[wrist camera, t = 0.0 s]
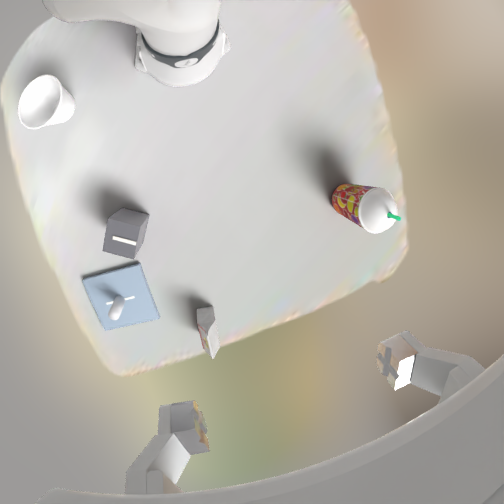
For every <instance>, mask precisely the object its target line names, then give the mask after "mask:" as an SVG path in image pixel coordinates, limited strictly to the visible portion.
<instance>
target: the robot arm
mask: <svg viewBox="0 0 504 504" xmlns="http://www.w3.org/2000/svg"><path fill="white" fill-rule="evenodd" d="M42 2H43V4H44V6H45V7H46V9H47V10H48V11H49V12H50V13H51V14H52V15H53V16H55V17H56V18H58V19H60V20H62V21H64V22H67V23H76V22H82V21H92V20H108V21H116V22H122V23H126V24H130V25H133V26H136V27H135V28H136V33H137V34H138V35H137V45H136V57H135V67H136V69H137V70H138V71H140V72H144V73H148V74H150V75H151V76H153V77H154V78H155V79H156V80H158V81H159V82H161V83H163V84H165V85H169V86H174V87H184V86H190V85H193V84H196V83H198V82H200V81H202V80H204V79H205V78H207V77H208V76H209V75H210V74H211V73H212V72H213V71H214V69H215V68H216V66H217V64H218V62H219V60H220V59H221V57H222V56H224V55H225V54H226V53H227V52H228V51H229V50H230V49H231V43H230V41H229V39H228V37H227V35H226V33H225V31H224V29H223V27H222V25H221V23H220V21H219V19H218V17H219V13H220V7H221V1H220V0H42ZM140 59H141V61H140ZM377 350H378V351H379V354H378V356H377V360H376V362H377V366H378V369H379V371H380V372H381V374H382V375H384V376H388V380H387V381H388V382H389V384H390V385H391V386H392V387H393V388H394V390H396V389H398V388H400V387H402V386H404V385H406V384H408V383H410V384H413V385H415V386H417V387H420V388H422V389H425V390H427V391H429V392H432V393H434V394H437V395H439V396H441V398H440V401H439V403H438V405H437V406H435V407H434V408H432V409H430V410H429V411H427V412H425V413H424V414H422V415H421V416H419V417H417V418H415V419H414V420H412V421H410V422H408V423H407V424H405V425H403V426H401V427H399V428H397V429H396V430H394V431H392V432H390V433H388V434H386V435H384V436H382V437H380V438H378V439H376V440H374V441H372V442H369V443H367V444H365V445H363V446H360V447H359V448H356V449H354V450H351V451H349V452H346V453H344V454H342V455H339V456H337V457H334V458H331V459H329V460H326V461H324V462H320V463H318V464H315V465H312V466H309V467H306V468H303V469H299V470H296V471H293V472H290V473H286V474H283V475H279V476H275V477H271V478H267V479H263V480H259V481H255V482H250V483H246V484H240V485H236V486H230V487H224V488H217V489H211V490H203V491H195V492H185V493H184V492H183V491H182V490H181V489H180V488H179V487H178V486H176V483H177V481H178V479H179V477H180V475H181V474H182V472H183V470H184V468H185V466H186V464H187V462H188V460H189V458H190V455H193V454H199V453H204V452H209V442H208V438H207V437H206V435H205V434H206V432H207V426H206V422H205V418H204V416H203V414H202V412H201V411H199V410H198V404H197V403H196V401H195V400H193V401H187V402H180V403H174V404H168V405H161V406H160V408H159V423H158V435H155V436H154V437H153V438H152V440H151V441H150V442H149V443H148V445H147V446H146V447H145V448H144V450H143V451H142V452H141V454H140V455H139V456H138V457H137V459H136V460H135V461H134V462H133V464H132V465H131V466H130V467H129V469H128V470H127V472H126V485H125V494H104V493H93V492H83V491H75V490H68V489H62V488H53V489H51V490H50V491H48V492H47V493H46V494H45V495H43V496H42V497H41V498H40V499H39V500H38V501H37V502H36V503H35V504H504V354H503V355H502V357H500V358H499V359H498V360H497V361H496V362H494V363H493V364H492V365H491V366H490V367H488V368H487V369H485V368H483V367H482V366H481V365H480V364H479V363H478V362H477V361H475V360H474V359H473V358H472V357H471V356H467V355H462V354H458V353H453V352H449V351H444V350H440V349H436V348H432V347H429V348H426V347H425V346H424V345H423V344H422V343H421V342H420V341H419V340H418V339H417V338H416V337H414V336H413V335H412V334H411V333H410V332H409V331H407V330H405V331H403V332H401V333H399V334H397V335H395V336H392V337H390V338H388V339H386V340H384V341H382V342H379V344H378V348H377Z"/></svg>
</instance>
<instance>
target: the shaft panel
mask: <svg viewBox="0 0 504 504" xmlns="http://www.w3.org/2000/svg"><path fill="white" fill-rule="evenodd" d="M82 281H83V284H84V286H85V288H86V291H87V293H88V295H89V298H90V300H91V302H92V304H93V307H94V309H95V311H96V313H97V315H98V317H99V319H100V321H101V323H102V325H103V327H104V329H105V331H106V330H111V329H115V328H120V327H125V326H129V325H134V324H138V323H143V322H147V321H152V320H156V319H160V315H159V312H158V310H157V307H156V305H155V302H154V300H153V297H152V294H151V292H150V289H149V286H148V284H147V281H146V278H145V276H144V273H143V270H142V267H141V264H140V263H138V264H135V265H131V266H127V267H124V268H120V269H116V270H113V271H109V272H105V273H102V274H98V275H95V276H91V277H87V278H84V279H83V280H82Z"/></svg>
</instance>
